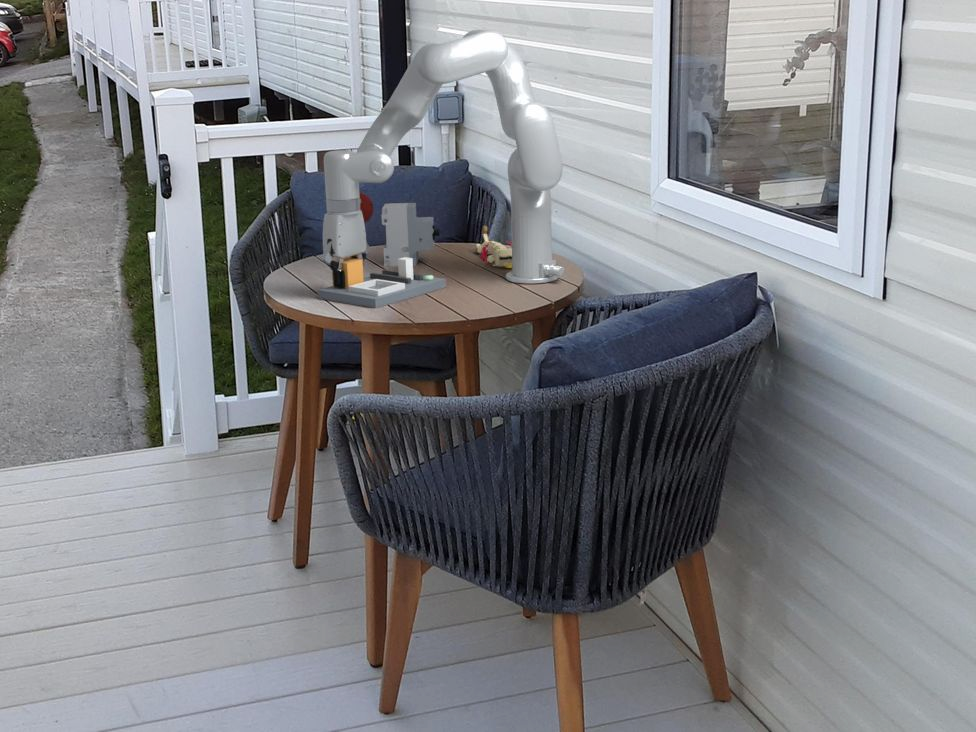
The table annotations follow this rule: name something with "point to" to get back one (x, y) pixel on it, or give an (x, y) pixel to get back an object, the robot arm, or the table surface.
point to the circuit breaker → (406, 233)
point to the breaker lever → (405, 267)
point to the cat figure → (494, 251)
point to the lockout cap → (352, 271)
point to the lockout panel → (383, 289)
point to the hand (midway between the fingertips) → (348, 284)
